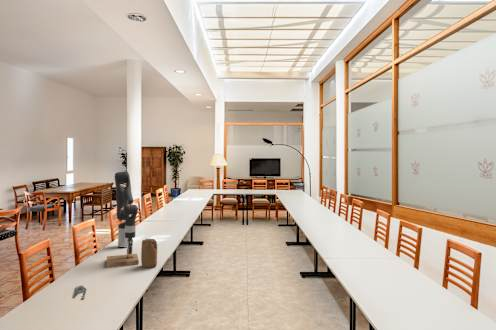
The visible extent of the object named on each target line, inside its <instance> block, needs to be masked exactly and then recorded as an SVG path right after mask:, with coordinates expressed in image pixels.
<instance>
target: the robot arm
mask: <svg viewBox="0 0 496 330" xmlns="http://www.w3.org/2000/svg"><path fill="white" fill-rule="evenodd" d="M125 183H126V185H125V187H122V185H121V184H125ZM114 184H115V199H116V200H115V201H116V219H117V220H119V221H123V222H122V223H119V224H118V226H117V230H118V231H117V248H118V247H127V246H128V247H127V248H128V249H129V254H133V245H134V244H133V242H134V240H133V239H134V238H135V237H136V229H137V228H136V218H137V215H138V213H139V206H138V205H136V204H133V203H134V198H133V193H132V186H131V178H130V173H129V171H119V172H115V173H114ZM130 215H131V216H130Z"/></svg>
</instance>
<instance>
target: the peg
mask: <svg viewBox="0 0 496 330" xmlns="http://www.w3.org/2000/svg"><path fill="white" fill-rule="evenodd" d="M132 254H133V253H132ZM132 254H129V249H128V247H127V248H126V255H127V259H132Z"/></svg>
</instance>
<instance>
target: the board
mask: <svg viewBox="0 0 496 330" xmlns="http://www.w3.org/2000/svg"><path fill="white" fill-rule="evenodd" d="M138 264H140V261H139V256H138V253H132V259H127V254H120V255H119V254H117V255H107V256H106V267H105V268H106V269H107V268H118V267H117V266H119V267H126V266H127V267H128V266H136V265H137V266H139V265H138Z"/></svg>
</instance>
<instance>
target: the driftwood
mask: <svg viewBox="0 0 496 330" xmlns="http://www.w3.org/2000/svg"><path fill="white" fill-rule="evenodd" d="M86 292H87V288H86V287H84V285H79V286H75V289H74V293H73V295H72V299H73V300H76V298H77V297H78V295H80V294H81V293H82V294H83V295H81V296H80V298H81V297H82V298H81V299H80V300H83V299H85V296H86Z"/></svg>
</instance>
